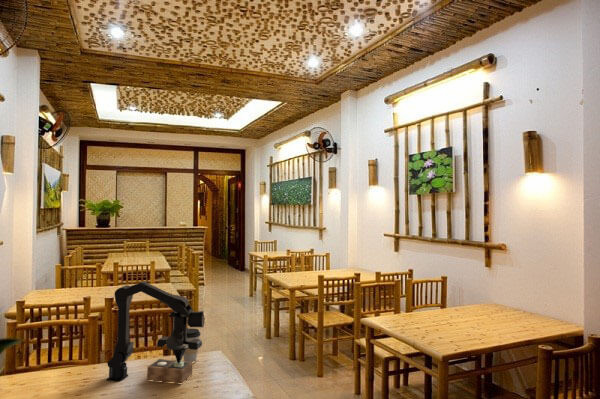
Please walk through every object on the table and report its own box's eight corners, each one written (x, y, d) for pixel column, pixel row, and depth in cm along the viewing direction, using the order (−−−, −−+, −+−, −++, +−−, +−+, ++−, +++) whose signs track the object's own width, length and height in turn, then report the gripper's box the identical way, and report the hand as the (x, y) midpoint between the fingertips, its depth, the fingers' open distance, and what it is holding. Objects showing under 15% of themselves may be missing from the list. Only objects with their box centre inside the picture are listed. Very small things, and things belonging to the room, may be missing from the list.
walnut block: (147, 381, 176) (147, 366, 176) (158, 372, 186) (159, 358, 186) (181, 384, 173) (182, 369, 173) (192, 375, 183) (192, 361, 183)
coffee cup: (203, 361, 201) (204, 330, 201) (189, 367, 193) (190, 334, 193) (190, 357, 206) (191, 326, 206) (175, 362, 198) (176, 331, 198)
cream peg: (155, 377, 179) (155, 364, 179) (159, 374, 182) (160, 361, 183) (163, 378, 178) (163, 365, 178) (168, 374, 182) (168, 362, 182)
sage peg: (172, 377, 177) (172, 364, 177) (176, 373, 181) (176, 360, 181) (180, 377, 177) (181, 364, 177) (184, 374, 180) (185, 361, 181)
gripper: (150, 330, 173) (149, 367, 173) (192, 333, 170) (191, 371, 169) (163, 323, 184) (162, 358, 184) (202, 326, 181) (201, 362, 180)
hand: (178, 362), depth 179 cm, fingers closed, pressing on sage peg
